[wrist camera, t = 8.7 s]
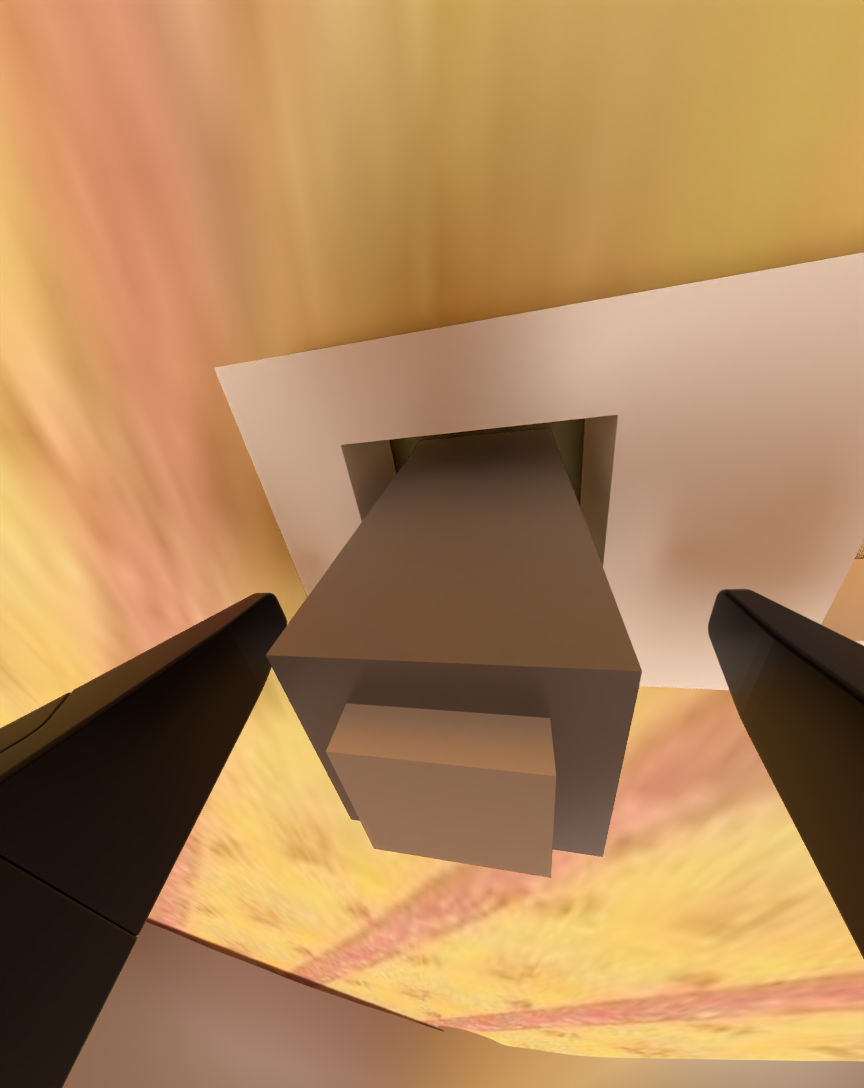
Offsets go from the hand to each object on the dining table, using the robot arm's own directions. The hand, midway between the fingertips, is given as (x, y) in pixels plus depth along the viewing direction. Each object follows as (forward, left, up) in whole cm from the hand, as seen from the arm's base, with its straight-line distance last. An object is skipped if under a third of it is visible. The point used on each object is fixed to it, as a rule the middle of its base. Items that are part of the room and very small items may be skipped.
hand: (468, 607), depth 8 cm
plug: (0, 0, -6) cm, 6 cm away
